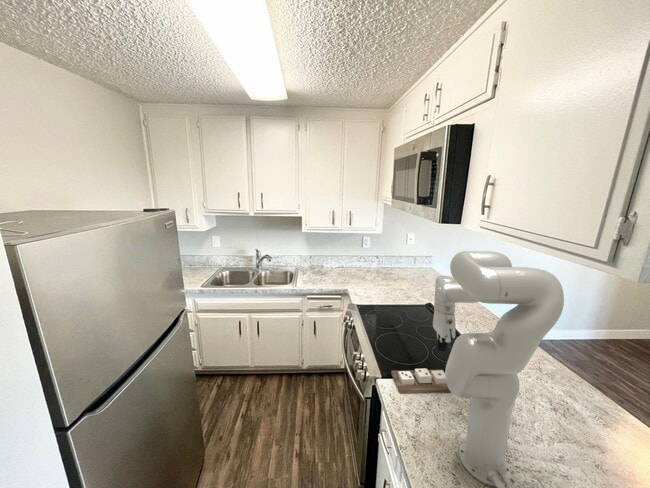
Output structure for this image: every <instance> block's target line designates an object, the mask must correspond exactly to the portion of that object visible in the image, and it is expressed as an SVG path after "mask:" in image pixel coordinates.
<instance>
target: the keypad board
mask: <svg viewBox="0 0 650 488" xmlns="http://www.w3.org/2000/svg"><path fill="white" fill-rule="evenodd" d="M427 370H428V371H429V373H430V375H431V371H443V372H444V373H445V371H444V369H427ZM398 371H399V370H391V371H390V372H391V373H390V375H391V376H392V379H393V382H394V384H395V386H396V388H398V389H397V391H398V393H399V394H400V395H405V394H406V395H407V394H447V393H448V394H449V393H452V392H451V391H450V390H449V388H448V386H447V384H435V383H434V381H433V380H432V379H431V383H422V384H419V382H418V380H417V379H416V377H415V369H414V370H413V369H412V370H411V369H410V370H404V369H403V371H410V372H411V374H412V376H413V377H414V385H401V383H400V381H399V379H398ZM452 394H453V393H452Z"/></svg>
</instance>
